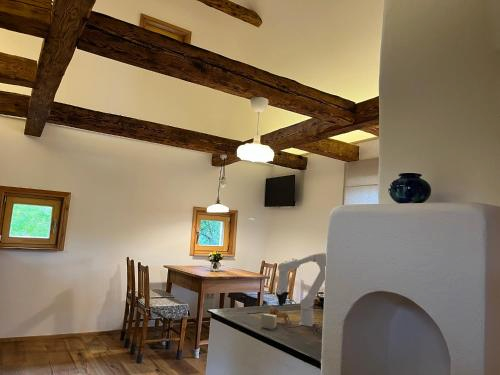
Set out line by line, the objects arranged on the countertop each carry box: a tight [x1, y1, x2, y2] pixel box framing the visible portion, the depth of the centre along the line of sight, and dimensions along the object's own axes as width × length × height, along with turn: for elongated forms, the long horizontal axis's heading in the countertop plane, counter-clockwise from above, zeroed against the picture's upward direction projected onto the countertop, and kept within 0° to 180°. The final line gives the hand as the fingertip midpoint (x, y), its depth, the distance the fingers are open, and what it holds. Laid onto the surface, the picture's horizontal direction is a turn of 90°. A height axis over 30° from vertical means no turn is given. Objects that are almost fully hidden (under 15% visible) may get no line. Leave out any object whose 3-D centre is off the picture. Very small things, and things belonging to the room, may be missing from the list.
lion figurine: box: [267, 306, 292, 326], centre depth 226 cm, size 15×5×9 cm, turn 73°
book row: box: [260, 313, 278, 330], centre depth 216 cm, size 7×7×7 cm
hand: (282, 304), depth 234 cm, fingers open, 5 cm apart
